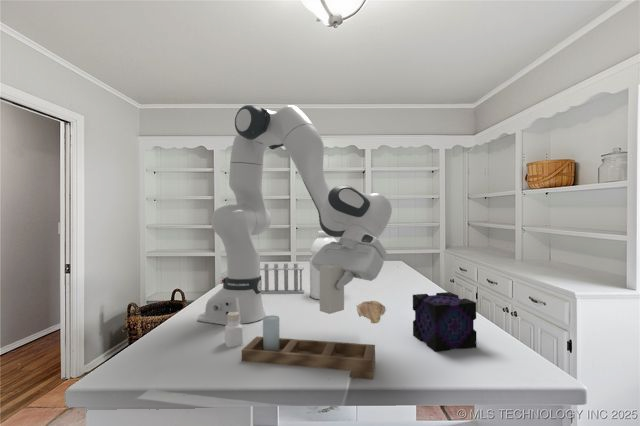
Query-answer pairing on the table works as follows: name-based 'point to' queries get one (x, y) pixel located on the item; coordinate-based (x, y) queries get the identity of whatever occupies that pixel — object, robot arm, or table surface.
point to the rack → (316, 355)
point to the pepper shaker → (233, 330)
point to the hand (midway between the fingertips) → (330, 286)
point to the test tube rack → (284, 279)
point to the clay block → (331, 289)
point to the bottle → (314, 273)
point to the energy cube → (444, 321)
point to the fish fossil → (371, 310)
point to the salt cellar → (271, 333)
